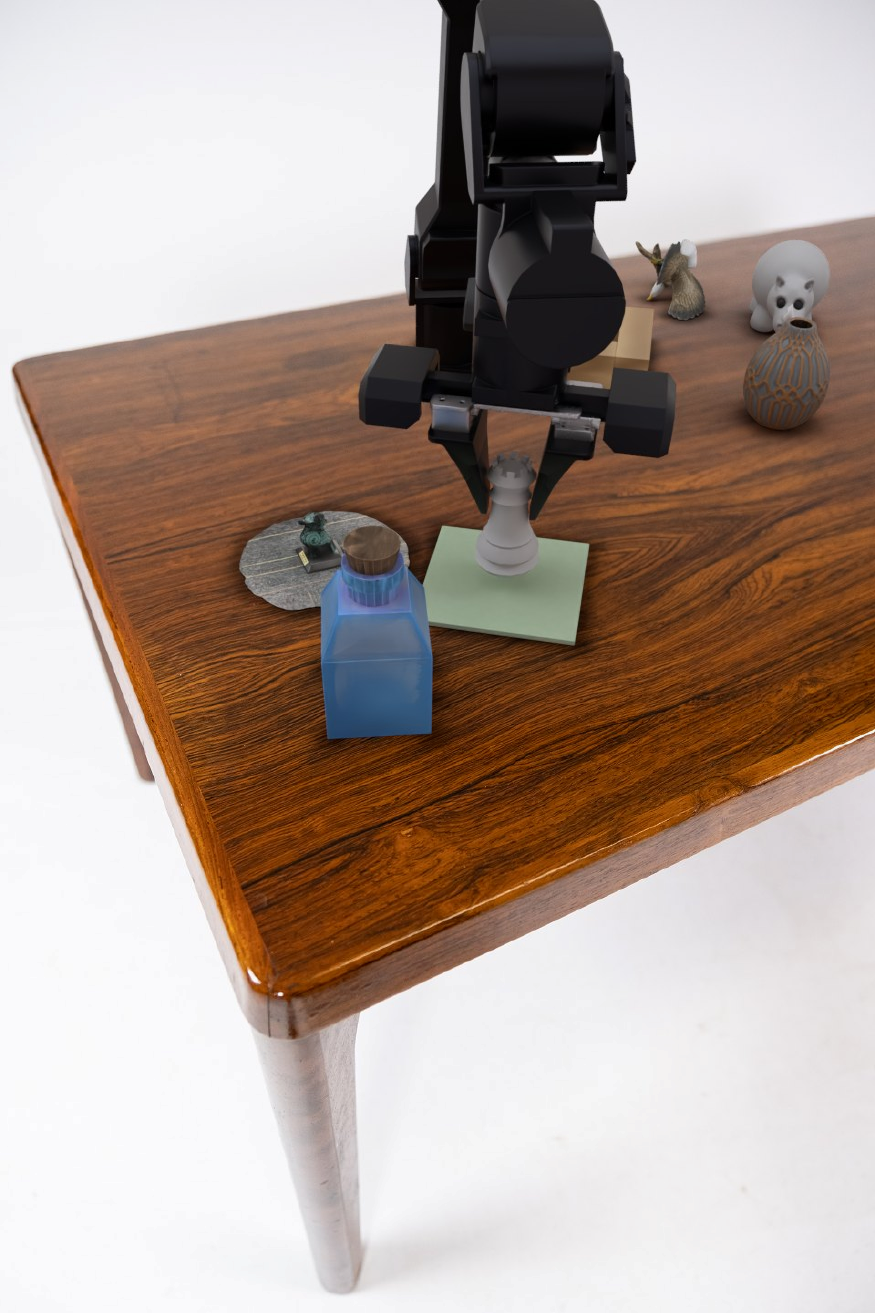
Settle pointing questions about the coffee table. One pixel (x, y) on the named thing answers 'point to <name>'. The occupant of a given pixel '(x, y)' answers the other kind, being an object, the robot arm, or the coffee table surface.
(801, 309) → the round bodied animal figurine
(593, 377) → the socket block
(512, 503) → the rook chess piece
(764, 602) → the coffee table surface
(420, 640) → the perfume bottle
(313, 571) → the sculpture
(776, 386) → the vase
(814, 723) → the coffee table surface
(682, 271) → the eagle figurine
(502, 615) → the mat
